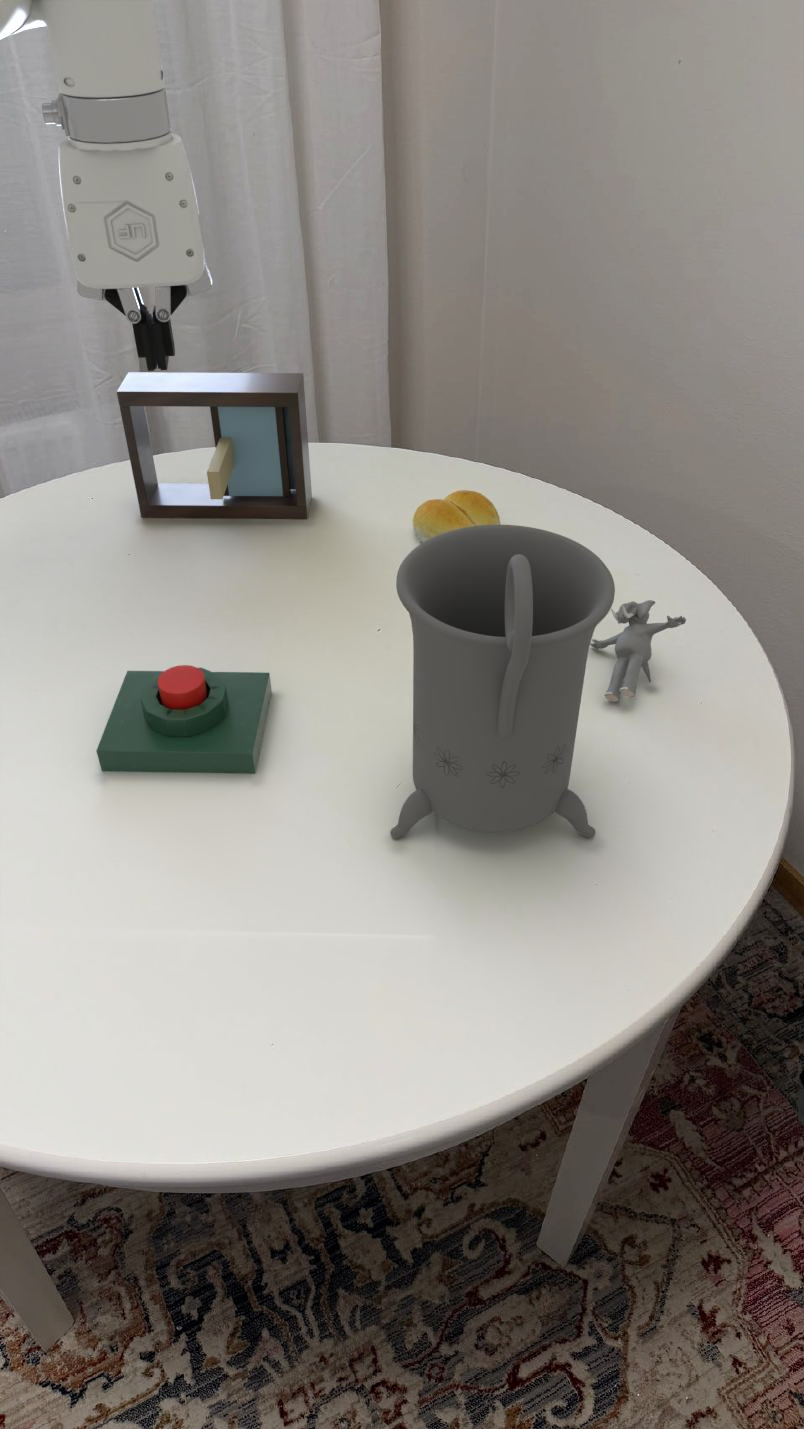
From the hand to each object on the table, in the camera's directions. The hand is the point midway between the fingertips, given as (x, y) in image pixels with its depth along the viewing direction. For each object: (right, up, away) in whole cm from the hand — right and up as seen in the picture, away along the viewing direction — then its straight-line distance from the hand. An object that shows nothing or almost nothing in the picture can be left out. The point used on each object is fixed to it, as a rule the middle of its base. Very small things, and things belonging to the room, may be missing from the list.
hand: (158, 364), depth 86 cm
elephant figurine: (+41, -27, +1) cm, 49 cm away
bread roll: (+27, -11, +20) cm, 35 cm away
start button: (+4, -29, -6) cm, 29 cm away
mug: (+27, -37, -11) cm, 47 cm away
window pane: (+5, -9, +20) cm, 22 cm away
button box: (+4, -31, -4) cm, 32 cm away
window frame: (+2, -7, +24) cm, 25 cm away
